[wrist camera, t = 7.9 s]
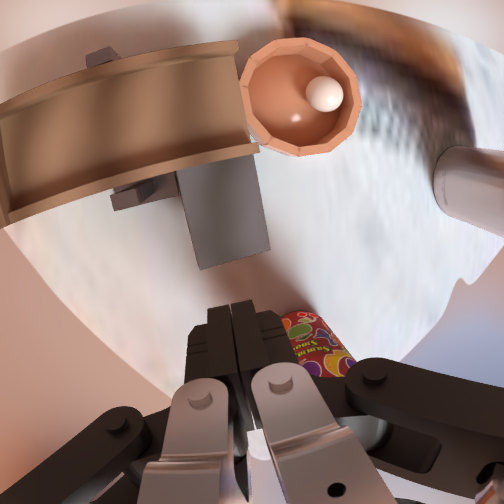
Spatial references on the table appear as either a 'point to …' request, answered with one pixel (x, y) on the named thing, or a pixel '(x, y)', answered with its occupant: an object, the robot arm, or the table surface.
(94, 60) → the stand
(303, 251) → the table surface
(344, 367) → the smoothie
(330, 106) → the ball
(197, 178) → the lever
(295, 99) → the orange bowl
